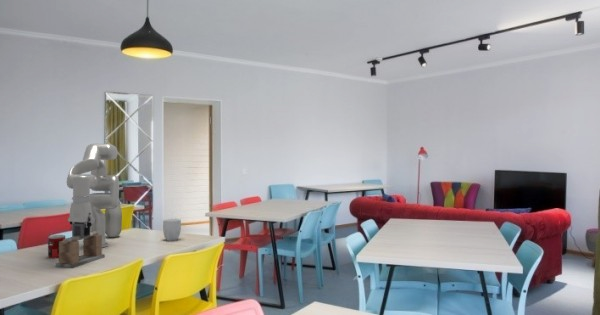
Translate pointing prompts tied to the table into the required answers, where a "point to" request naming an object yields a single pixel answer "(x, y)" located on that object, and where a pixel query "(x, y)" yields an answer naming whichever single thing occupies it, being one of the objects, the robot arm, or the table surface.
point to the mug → (171, 228)
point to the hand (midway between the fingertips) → (81, 234)
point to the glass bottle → (113, 221)
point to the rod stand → (71, 250)
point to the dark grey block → (78, 230)
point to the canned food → (54, 245)
